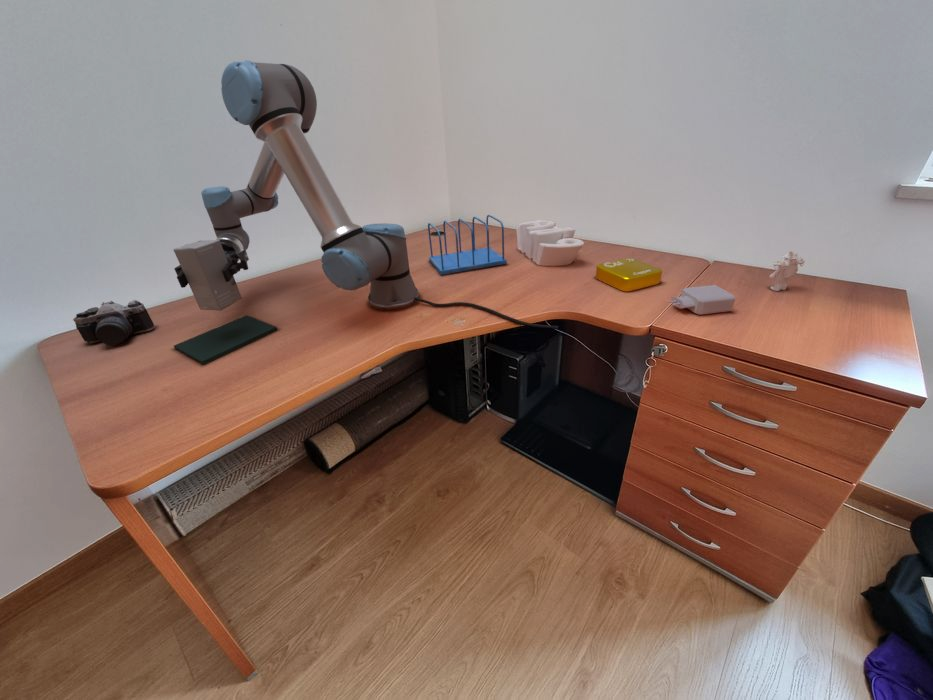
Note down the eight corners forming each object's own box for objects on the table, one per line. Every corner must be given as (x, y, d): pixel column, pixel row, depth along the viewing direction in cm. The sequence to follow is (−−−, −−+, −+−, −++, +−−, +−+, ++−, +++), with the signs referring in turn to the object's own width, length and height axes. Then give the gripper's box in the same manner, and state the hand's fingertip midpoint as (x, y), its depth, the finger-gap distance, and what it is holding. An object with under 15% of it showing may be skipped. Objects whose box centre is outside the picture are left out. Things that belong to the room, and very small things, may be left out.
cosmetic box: (221, 312, 98) (195, 249, 90) (197, 310, 100) (169, 248, 91) (244, 298, 105) (222, 238, 97) (221, 296, 107) (198, 238, 98)
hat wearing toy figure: (771, 293, 114) (787, 252, 108) (760, 288, 117) (774, 248, 111) (797, 289, 116) (814, 248, 109) (785, 284, 119) (801, 245, 113)
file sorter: (489, 251, 159) (489, 212, 151) (507, 265, 145) (507, 222, 137) (429, 261, 153) (425, 220, 145) (441, 276, 139) (437, 231, 131)
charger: (658, 304, 112) (708, 299, 113) (678, 318, 104) (731, 312, 105) (662, 288, 109) (712, 283, 111) (682, 302, 101) (736, 296, 103)
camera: (79, 356, 102) (56, 321, 97) (90, 339, 110) (69, 306, 104) (151, 340, 108) (134, 306, 102) (157, 325, 116) (140, 293, 110)
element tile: (625, 293, 119) (628, 278, 117) (592, 277, 131) (594, 263, 128) (662, 283, 124) (666, 268, 122) (627, 269, 136) (630, 255, 133)
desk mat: (277, 330, 109) (276, 326, 109) (203, 365, 95) (202, 361, 95) (247, 318, 117) (246, 315, 116) (174, 348, 103) (173, 345, 102)
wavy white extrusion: (511, 243, 167) (511, 218, 161) (548, 239, 169) (549, 214, 164) (542, 271, 137) (543, 241, 132) (586, 266, 140) (589, 236, 135)
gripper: (270, 259, 117) (257, 287, 98) (189, 269, 112) (159, 300, 94) (262, 234, 113) (247, 258, 94) (177, 243, 109) (144, 270, 90)
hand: (203, 279), depth 94 cm, fingers closed on cosmetic box, 9 cm apart
